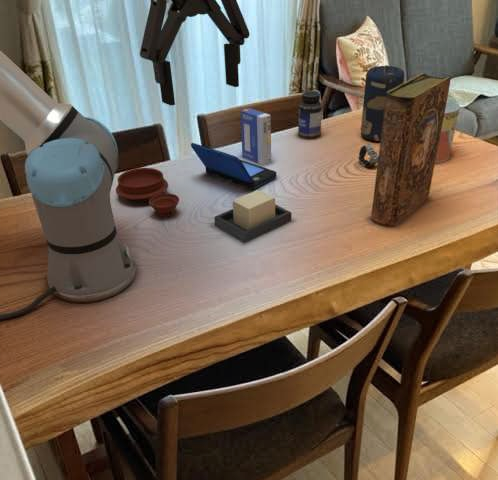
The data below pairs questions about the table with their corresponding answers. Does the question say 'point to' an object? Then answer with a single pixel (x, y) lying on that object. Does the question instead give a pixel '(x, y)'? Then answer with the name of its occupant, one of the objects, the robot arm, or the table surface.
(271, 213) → the beige rectangular block
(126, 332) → the table surface
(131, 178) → the pottery
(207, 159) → the game console
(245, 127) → the walkman
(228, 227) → the dark grey tray
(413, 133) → the book
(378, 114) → the canister
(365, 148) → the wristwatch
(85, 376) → the table surface
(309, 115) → the pill bottle
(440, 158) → the canned food
